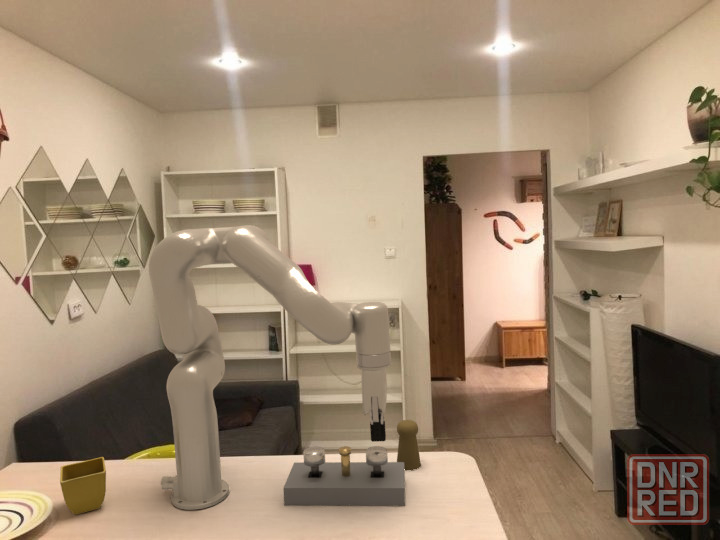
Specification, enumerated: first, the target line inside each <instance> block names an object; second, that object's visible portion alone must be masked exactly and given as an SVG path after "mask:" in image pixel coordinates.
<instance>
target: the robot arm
mask: <svg viewBox="0 0 720 540" xmlns="http://www.w3.org/2000/svg"><path fill="white" fill-rule="evenodd" d="M221 264H223V265H224V264H233V265H234V266H236V268H238V269H239V270H240V271H242V272H243V273H244V274H246V275H247V276H248V277H250V278H251V279H252V280H253V281H254V282H255V283H257V284H258V285H259V286H260V287H262V288H263V289H264V290H265V291H267V292H268V293H269V294H270V295H271V296H272V297H273V298H275V300H276V302H277V303H278V304H280V306H281V307H282V308H283V309H284V310H285V311H286V312H287V313H288V314H289V315H290V316H291V317H292V318H293V319H294V320H295V321H296V322H297V323H298V324H299V325H300V326H301V327H303V328H305V329H306V330H307V331H308V332H309V333H310V334H312V335H313V336H314V337H316V338H317V339H318V340H320V341H321V342H323V343H325V344H327V345H332V346H334V345H335V346H337V345H341V344H343V343H344V342H346V341H348V339H349V338H350V336H351V335H352V334H354V343H355V344H354V345H355V355H356V356H355V358H356V368H358V369H359V370H361V399H362V401H361V402H362V414H363V416H367V415H370V417H369V418H370V422H369V427H370V428H369V431H370V441H371V442H386V437H387V435H386V421H385V415H384V414H386V407H387V397H388V396H387V395H388V392H387V391H388V387H387V385H388V384H387V368H390V367H391V366H392V356H391V355H392V354H391V340H390V339H391V337H390V324H389V323H390V320H389V308H388V306H387V304H385V303H384V302H381V301H367V302H360V303H352V302H342V301H341V302H340V301H336V302H335V301H334V302H330V301H329V300H328V299H326V298H325V296H323V295H322V294H321V293H320V292H319V291H318V290H316V289H315V287H314V286H312V284H311V283H310V282H309V279H307V277H306V275H305V274H304V272H303V269H302V268H301V267H300V266H299V265H298V263H296V262H295V261H294V260H292V259H291V258H290V257H288V255H286V254H285V253H284V252H282V251H281V250H280V249H278V248H277V247H276V246H275V245H274V244H272V243H271V242H270V241H269V238H268V235H267V234H266V232H265V231H264V230H263V229H262V228H260V227H258V226H256V225H250V224H248V225H239V226H229V227H228V226H226V227H205V228H203V227H202V228H187V229H181V230H177V231H175V232H173V233H171V234H168V235H167V236H165V237H164V238H163V239H162V240H160V241H159V242H158V244H157V245H156V246H155V247H154V249H153V251H152V252H151V254H150V258H149V262H148V274H149V279H150V283H151V288H152V292H153V297H154V302H155V309H156V315H157V319H158V323H159V328H160V334H161V337H162V341H163V345H164V346H165V347H166V349H167V350H168V351H169V352H170V353H172V354H173V355H178V356H179V355H182V356H183V357H182V358H183V359H182V360H181V361H180V362H179V363H177V364H176V365H175V366H174V367H173V368H172V369H171V371H170V373H169V374H168V377H167V380H166V393H167V395H166V396H167V399H168V402H169V406H170V413H171V421H172V430H173V444H174V455H175V456H174V457H175V469H176V475H175V476H170V475H167V476H166V475H165V476H162V477H161V480H160V485H161V490H163V491H164V490H165V491H166V490H171V491H172V493H171V496H170V497H171V498H170V500H171V503H172V505H173V506H175V507H176V508H178V509H181V510H185V511H189V510H190V511H191V510H192V511H194V510H202V509H206V508H210V507H213V506H215V505H218V504H219V503H221V502H222V501H224V500H225V499H226V498H227V497H228V495H229V494H230V485H229V483H228V481H226V480H224V479H222V468H221V467H222V465H221V453H220V452H221V451H220V440H219V439H220V437H219V435H220V434H219V425H218V423H219V422H218V413H217V408H216V403H215V399H214V389H215V388H216V387H217V386H218V385H219V384H220V382H221V381H222V380H223V377H224V375H225V373H226V371H225V370H226V364H225V356H224V351H223V347H222V342H221V337H220V331H219V327H218V323H217V320H216V318H215V315H214V314H213V313H212V312H211V310H209V308H208V307H206V306H203V305H202V304H201V305H200V304H198V300H197V295H196V289H195V286H194V284H193V281H192V278H191V276H190V272H191V271H193V270H194V269H196V268H200V267H203V266H208V265H209V266H210V265H221Z"/></svg>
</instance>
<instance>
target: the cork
mask: <svg viewBox="0 0 720 540" xmlns="http://www.w3.org/2000/svg"><path fill="white" fill-rule="evenodd" d="M396 431H397V432H396V433H397V434H398V435H399V436H398V446H397V456H396V462H404V469H405V471H407V470H411V471H414V470H413V469H416V470H418V469H420V468H421V467H422V463H421V459H420V458H421V457H420V456H421V455H420V452H419V445H418V444H419V443H418V439H417V435H418V433H419V427H418V423H417V422H416V421H414V420H411V419H404V420H401V421H399V422H398V424H397V426H396ZM419 467H420V468H419ZM417 468H418V469H417Z"/></svg>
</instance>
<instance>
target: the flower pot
mask: <svg viewBox="0 0 720 540" xmlns="http://www.w3.org/2000/svg"><path fill="white" fill-rule="evenodd" d="M105 462H106V461H105V458H104V456H100V457H97V458H92V459H87V460H84V461H79V462H74V463H70V464H69V463H68V464H66V465H63V466H61V467H60V472H59V473H60V476H59V483H60V488H61V491H62V496H63V501H64V502H65V505H66V507H67V508H68V510H69V512H71V513H72V514H73V515H75V516H76V515H80V514H83V513H87V512H91V511H96V510H99V509H100V508H101V507H102V506H103V502H104V500H105V497H106V493H107V492H106V491H107V480H106V479H107V469H106V463H105Z"/></svg>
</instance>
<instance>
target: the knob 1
mask: <svg viewBox="0 0 720 540" xmlns="http://www.w3.org/2000/svg"><path fill="white" fill-rule="evenodd" d="M303 462H304V464H305V465H306V466H310V467H311V478H319V466H320V465H323V464H324V463H325V462H326V450H325V448H324V447H321V446H310V447H307V448H304V450H303Z"/></svg>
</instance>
